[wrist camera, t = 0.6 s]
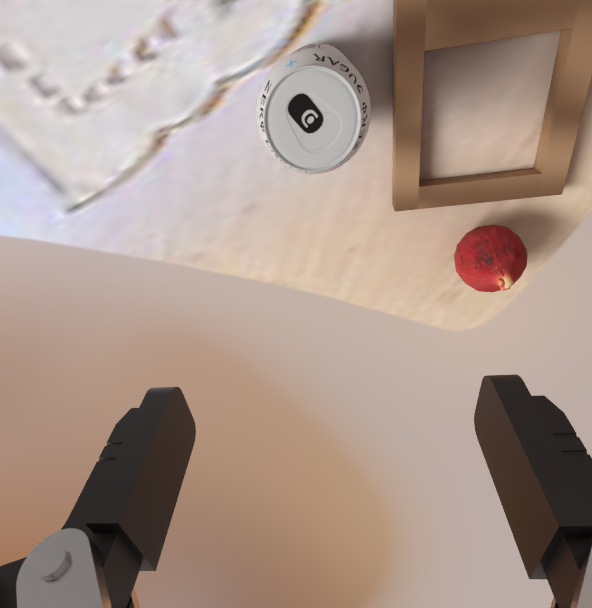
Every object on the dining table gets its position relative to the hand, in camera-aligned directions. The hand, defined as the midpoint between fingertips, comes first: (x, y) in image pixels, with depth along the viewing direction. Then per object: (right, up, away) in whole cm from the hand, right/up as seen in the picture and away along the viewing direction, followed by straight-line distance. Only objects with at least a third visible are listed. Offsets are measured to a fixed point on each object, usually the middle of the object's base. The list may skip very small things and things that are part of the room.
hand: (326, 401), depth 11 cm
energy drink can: (+1, +20, +21) cm, 29 cm away
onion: (+17, +9, +28) cm, 34 cm away
